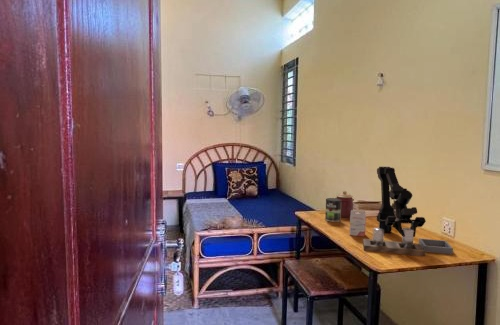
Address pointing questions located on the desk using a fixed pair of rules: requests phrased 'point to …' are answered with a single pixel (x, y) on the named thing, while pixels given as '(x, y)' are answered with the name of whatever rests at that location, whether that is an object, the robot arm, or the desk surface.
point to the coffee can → (333, 209)
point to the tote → (434, 243)
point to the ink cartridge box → (357, 223)
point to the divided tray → (393, 248)
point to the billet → (378, 236)
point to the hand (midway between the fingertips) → (408, 236)
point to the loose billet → (407, 238)
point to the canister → (346, 203)
